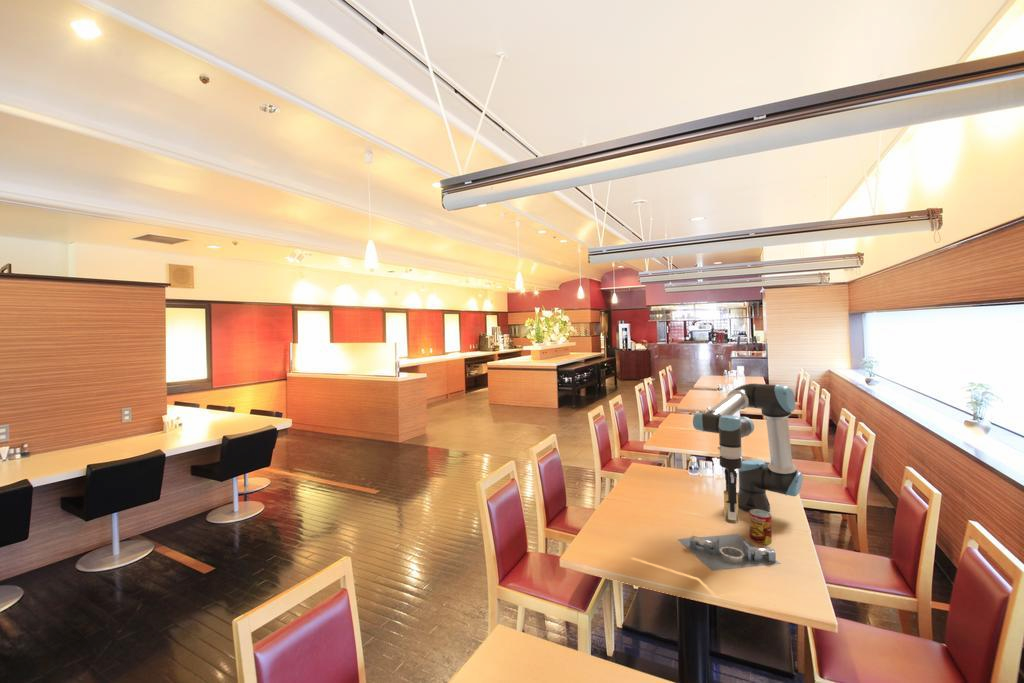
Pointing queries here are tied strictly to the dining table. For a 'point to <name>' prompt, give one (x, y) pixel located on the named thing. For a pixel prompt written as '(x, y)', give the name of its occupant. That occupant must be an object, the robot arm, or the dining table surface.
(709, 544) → the shaft
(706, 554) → the base board
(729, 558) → the socket
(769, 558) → the shaft
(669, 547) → the dining table surface
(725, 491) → the cylinder
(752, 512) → the canned food
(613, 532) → the dining table surface
